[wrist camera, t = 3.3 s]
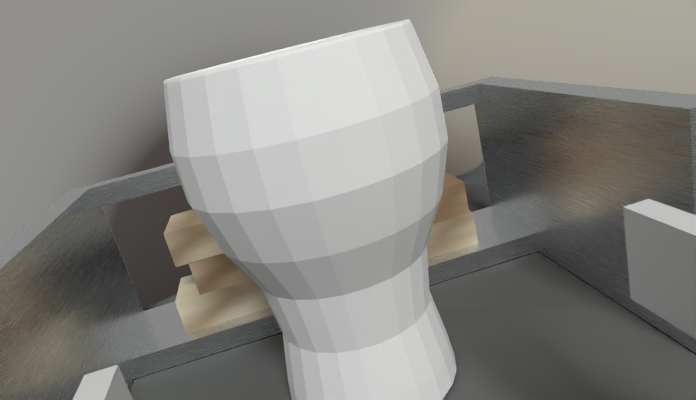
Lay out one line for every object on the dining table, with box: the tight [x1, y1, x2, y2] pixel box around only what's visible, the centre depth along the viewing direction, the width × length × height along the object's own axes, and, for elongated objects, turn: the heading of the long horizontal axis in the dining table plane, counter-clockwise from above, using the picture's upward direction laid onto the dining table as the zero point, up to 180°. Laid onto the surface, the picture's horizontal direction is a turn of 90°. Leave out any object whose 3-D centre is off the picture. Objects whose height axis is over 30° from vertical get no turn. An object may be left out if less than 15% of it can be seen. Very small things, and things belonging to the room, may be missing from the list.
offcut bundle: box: [164, 172, 478, 333], centre depth 32 cm, size 18×4×6 cm, turn 102°
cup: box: [163, 20, 457, 400], centre depth 23 cm, size 11×11×15 cm
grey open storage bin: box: [0, 77, 696, 400], centre depth 27 cm, size 28×18×10 cm, turn 102°
